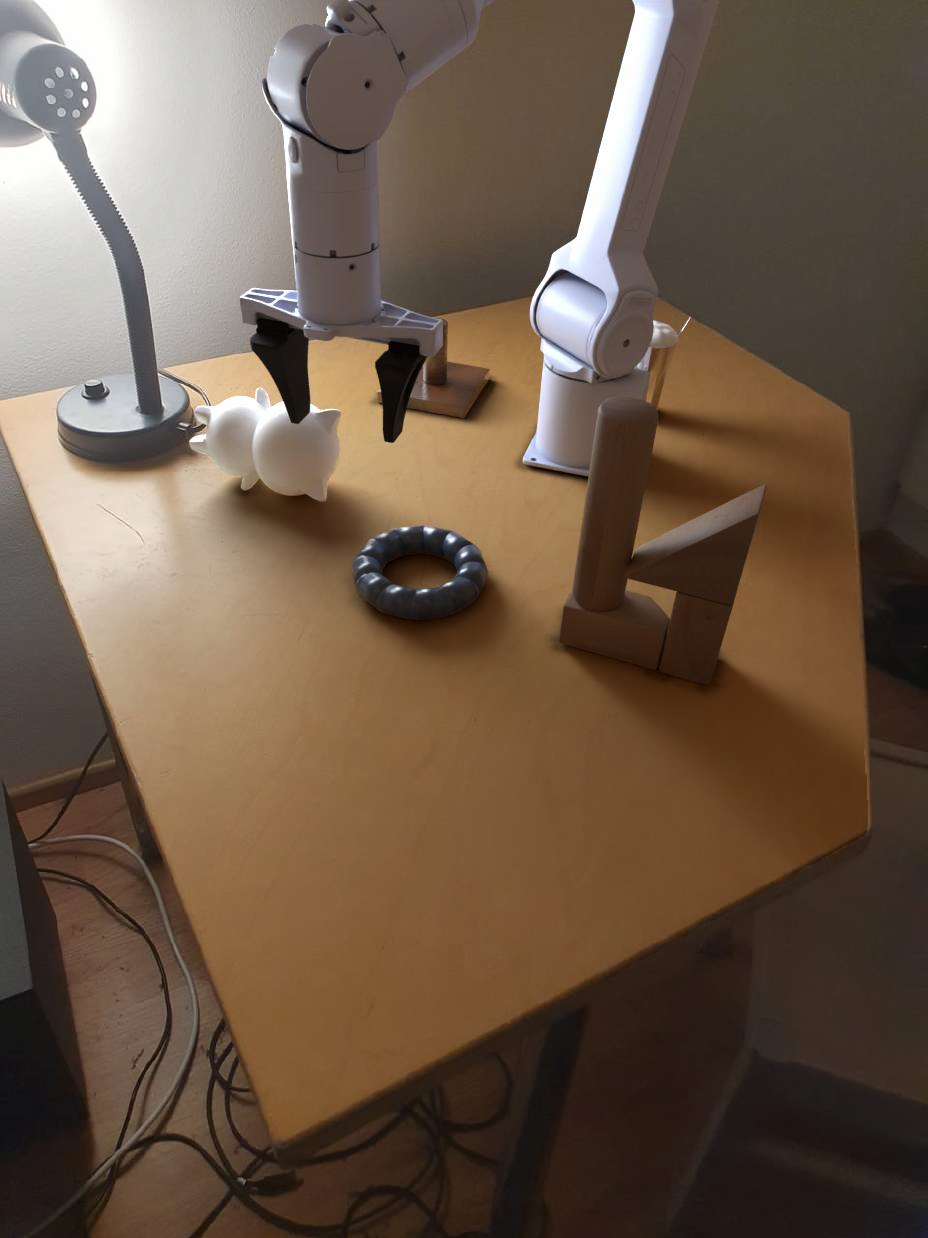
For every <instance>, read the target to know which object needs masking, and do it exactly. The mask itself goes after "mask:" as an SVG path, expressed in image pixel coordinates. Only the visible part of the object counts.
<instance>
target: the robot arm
mask: <svg viewBox="0 0 928 1238" xmlns="http://www.w3.org/2000/svg"><path fill="white" fill-rule="evenodd" d="M494 1H495V0H333V1H332V2H330V3H329V4H328V5H327V6H326V13H327V14H328V16H327V18H326V20H325V23H324V26H322V25H320V24H316V23H312V24H308V23H303V24H300V25H296V26H294V27H293V28H291V29H289V30H288V31H286V32H285V33H283V35H282V36H281V37H280V38H279V39H278V41H277V42H276V43H275V45H274V47H273V50H275V51H274V53H273V55H270V57H269V60H268V65H267V71H266V73H267V74H266V76H264V77H262V79H261V80H260V81H261V88H262V92H263V96H264V98H265V102H266V103H267V104H268V107H269V109H270V110H271V112H272V113H273V115H274V116H275V117H276V118H277V119H278V121H279V122H280V124H281V125H282V131H283V141H284V143H283V144H284V153H285V164H286V165H285V171H286V173H285V174H286V183H287V195H288V204H289V205H288V207H289V218H290V219H289V220H290V231H291V232H290V233H291V243H292V253H293V264H294V265H293V266H294V276H295V288H296V290H288V289H287V290H285V289H267V288H266V289H265V288H258V287H251V288H250V289H249V290H247V291H246V292H245V293H243V294H242V295H240V296H239V303H240V304H239V305H240V313H241V321H242V324H243V325H250V326H256V329H255V333H254V334H253V335H252V336H250V339H249V345H250V348H251V351H252V352H253V353H254V354H255V356H256V357H257V358H258V359H259V360H260V362H261V363H262V364H263V366H264V368H265V369H266V371H267V372H268V373H269V375H270V377H271V378H272V381H273V382H274V385H275V386H276V388H277V391H278V393H279V396H280V397H281V400H282V402H284V405H285V407H286V410H287V413H288V415H289V418H290V421H291V423H294V424H299V423H300V422H301V421H302V420H303V419H304V418H305V417H306V416H307V415H308V414H309V413H310V404H311V388H310V378H309V343H310V340H311V339H312V340H317V341H322V342H329V341H332V340H334V339H335V338H348V339H353V340H359V341H363V342H364V341H365V342H370V343H376V344H381V345H387V346H388V347H387V350H384V352H383V353H382V354H381V355H380V356H379V357H378V358H377V359H376V360H375V361H374V368H375V371H376V375H377V379H378V383H379V389H381V395H382V403H381V404H382V437H383V442H385V443H389V444H394V443H395V442H396V441H397V439H398V438H399V436H400V435H401V434H402V433H403V428H404V423H405V418H406V413H407V410H408V408H407V405H408V402H409V399H410V396H411V393H412V390H413V387H414V385H415V382H416V380H417V377H418V375H419V373H420V371H421V369H422V367H423V364H424V363H425V361H426V359H427V357H428V356H430V357H434V355H435V354H436V353H437V352H438V351H439V350H440V348H441V347H442V346H443V320H442V319H443V318H441V319H437V318H438V317H432V316H428V315H423V314H421V313H419V312H415V311H412V310H409V309H407V308H404V307H401V306H399V305H396V304H393V303H390V302H387V301H384V300H382V291H381V289H382V287H381V284H382V283H381V244H380V209H379V172H378V171H379V169H378V141H380V140H381V139H382V137H383V136H384V135H385V133H386V131H388V128H389V127H390V125H391V122H392V119H393V116H394V114H395V111H396V106H397V104H398V102H399V100H400V99H401V98H402V97H404V96H405V95H406V94H408V93H409V92H411V90H413V89H414V88H416V87H417V86H418V85H420V84H421V83H422V82H423V81H424V80H426V79H427V78H428V77H430V76H431V75H432V74H434V73H436V72H437V70H439V69H440V68H442V67H443V66H444V65H446V64H447V63H448V62H449V61H451V60H452V59H454V58H455V57H456V56H457V55H459V54H460V53H461V52H463V51H464V50H465V49H466V48H468V47H469V46H470V45H472V44H473V43H474V41H475V40H476V38H477V37H478V33H479V28H480V21H481V15H482V11H483V9H484V8H485V7H488V5H490V4H491V3H493V2H494ZM632 3H633V5H634V11H635V12H634V14H633V15H634V16H633V20H632V23H631V28H630V31H629V35H628V39H627V43H626V46H625V50H624V54H623V57H622V62H621V66H620V70H619V73H618V77H617V81H616V84H615V89H614V93H613V97H612V100H611V104H610V108H609V111H608V116H607V119H606V123H605V127H604V131H603V135H602V139H601V143H600V146H599V150H598V153H597V158H596V161H595V164H594V165H595V166H594V169H593V174H592V177H591V180H590V185H589V188H588V193H587V196H586V200H585V204H584V208H583V211H582V215H581V220H580V224H579V227H578V231H577V235H576V237H575V238H574V239H572V240H571V241H569V242H568V243H566V244H564V245H563V246H561V247H560V248H558V249H557V250H556V251H554V252H553V253H552V254H551V258H550V262H549V266H548V269H547V271H546V274H545V276H544V278H543V279H542V281H541V282H540V284H539V285H538V287H537V288H536V290H535V292H534V294H533V297H532V300H531V302H530V309H529V321H530V325H531V327H532V329H533V331H534V332H535V334H536V335H537V336H538V337H540V338H541V339H540V352H542V354H543V362H542V363H543V364H542V373H541V384H540V393H539V402H538V403H539V404H538V412H537V413H538V415H537V423H536V424H537V425H536V432H535V434H534V436H533V438H532V439H531V441H530V443H529V445H528V447H527V450H526V451H525V453H524V455H523V457H522V464H524V465H526V466H532V467H536V468H542V469H547V470H553V471H556V472H562V473H568V474H573V475H578V476H584V477H587V478H589V471H590V464H591V457H592V450H593V443H594V436H595V429H596V422H597V415H598V410H599V407H600V405H601V404H602V403H603V402H604V401H605V400H608V399H610V398H614V397H633V398H638V399H642V400H645V401H646V398H647V393H648V387H649V380H650V372H648V371H646V370H642V369H639V368H636V366H637V365H638V364H639V363H640V362H641V360H642V359H643V357H644V356H645V354H646V352H647V351H648V348H649V346H650V343H651V340H652V336H653V329H654V324H653V321H654V312H655V306H656V302H657V299H658V295H659V291H660V290H659V288H658V285H657V283H656V280H655V279H654V276H653V274H652V272H651V270H650V267H649V265H648V263H647V260H646V258H645V256H644V251H645V248H646V245H647V241H648V237H649V235H650V232H651V229H652V225H653V222H654V218H655V215H656V211H657V208H658V205H659V202H660V198H661V195H662V192H663V189H664V185H665V182H666V179H667V175H668V172H669V168H670V166H671V162H672V158H673V155H674V152H675V149H676V146H677V142H678V139H679V135H680V132H681V128H682V125H683V122H684V119H685V115H686V113H687V109H688V106H689V103H690V99H691V96H692V92H693V89H694V86H695V82H696V79H697V76H698V73H699V70H700V66H701V64H702V59H703V56H704V52H705V49H706V46H707V43H708V40H709V37H710V32H711V30H712V26H713V24H714V19H715V16H716V14H717V10H718V7H719V3H720V0H632Z"/></svg>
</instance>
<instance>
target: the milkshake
mask: <svg viewBox="0 0 928 1238" xmlns="http://www.w3.org/2000/svg"><path fill="white" fill-rule="evenodd" d="M690 319H691V315H688V317H687V319H686V320H685V322H684V323H683V325H682V326H681V327H680V329H679V331H678V333H677V332H676V330H675V329H674V328H673V327H672V326H671V325H670V324H666V323H664V322H661V321H659V320H653V324H654V329H653V336H652V340H651V343H650V346H649V348H648V351H647V352H646V354H645V356H644V357H643V359H642V360H641V362H640V363H639V364H638V365H637V366H636V368H639V369H642V370H646V371H648V372H650V380H649V387H648V393H647V398H646V401H647V402H649V403H651V404H652V405H653V406H654V407H655V408H656V409H657V410H658V408H659V406H660V402H661V398H662V394H663V390H664V387H665V383H666V379H667V375H668V372H669V369H670V366H671V364H672V360H673V357H674V353H675V350H676V347H677V343H678V341H679V336H680V335H681V333H682V332H683V330H684V329H685V327H687V324H688V323H689V321H690Z"/></svg>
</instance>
